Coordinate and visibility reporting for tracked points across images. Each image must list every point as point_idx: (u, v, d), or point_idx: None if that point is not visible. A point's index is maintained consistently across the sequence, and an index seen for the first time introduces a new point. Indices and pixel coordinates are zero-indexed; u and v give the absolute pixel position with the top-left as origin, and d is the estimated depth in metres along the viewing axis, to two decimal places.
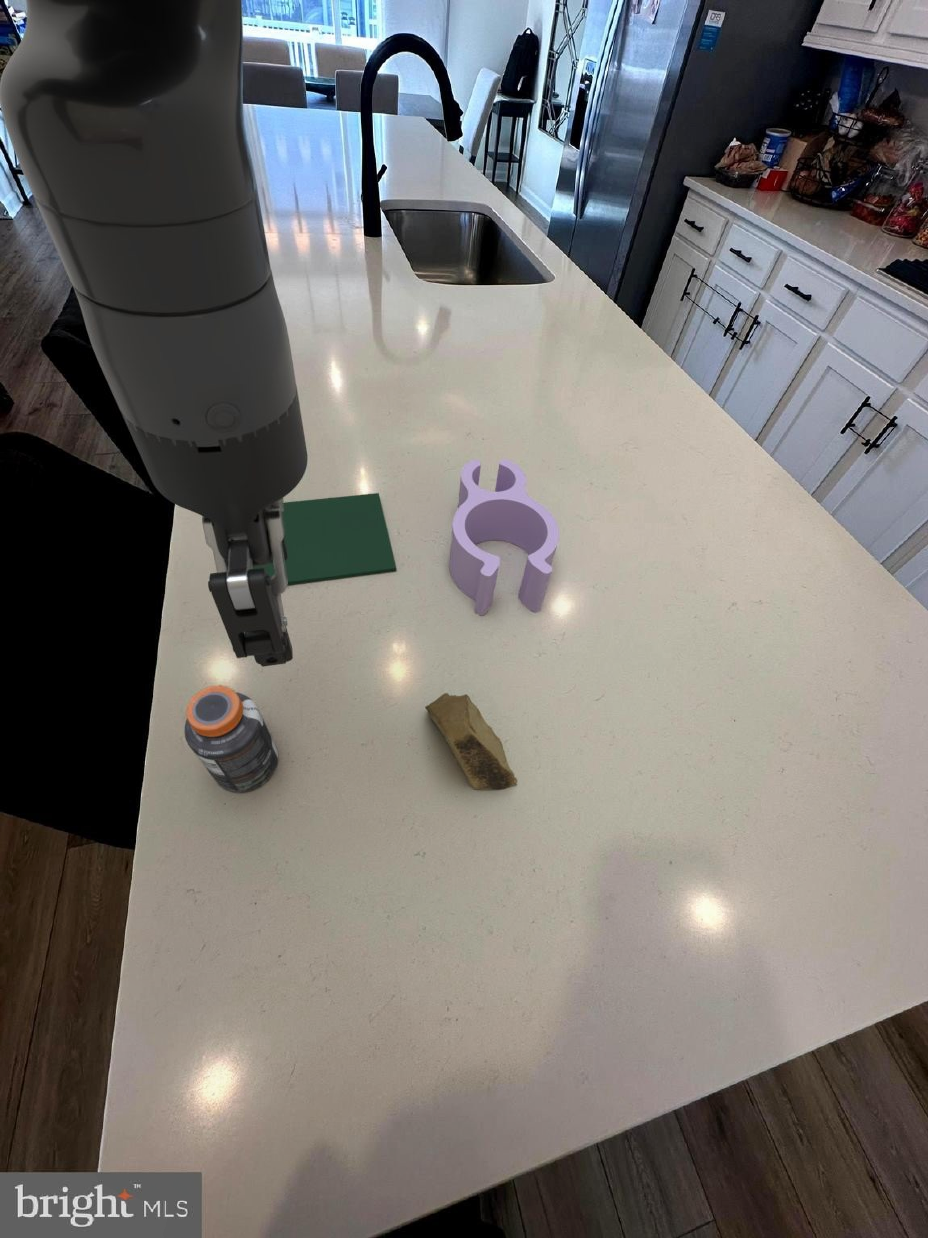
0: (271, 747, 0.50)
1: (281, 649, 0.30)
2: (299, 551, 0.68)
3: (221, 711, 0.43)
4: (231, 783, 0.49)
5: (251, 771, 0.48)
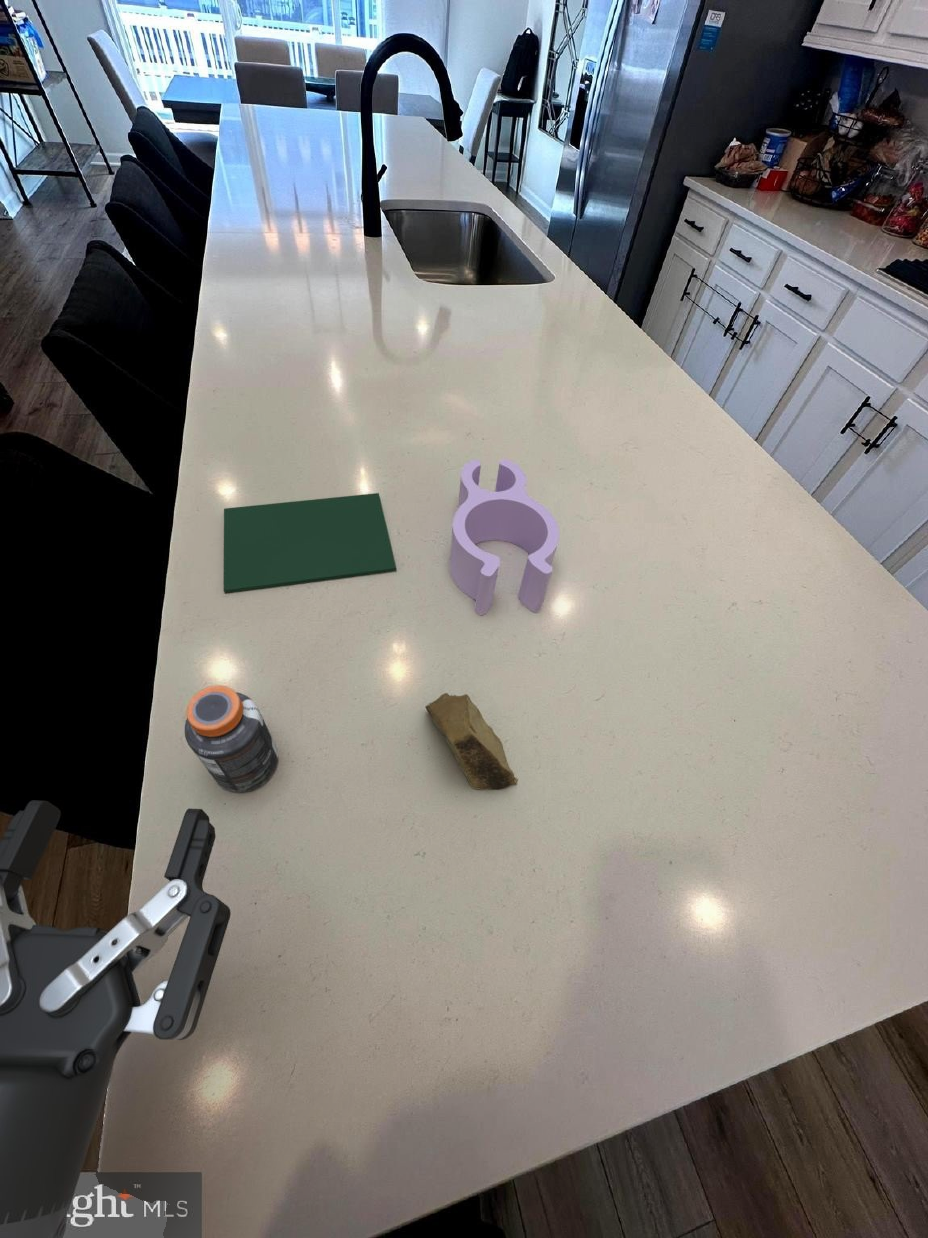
0: (271, 747, 0.50)
1: None
2: (299, 551, 0.68)
3: (221, 711, 0.43)
4: (231, 783, 0.49)
5: (251, 771, 0.48)
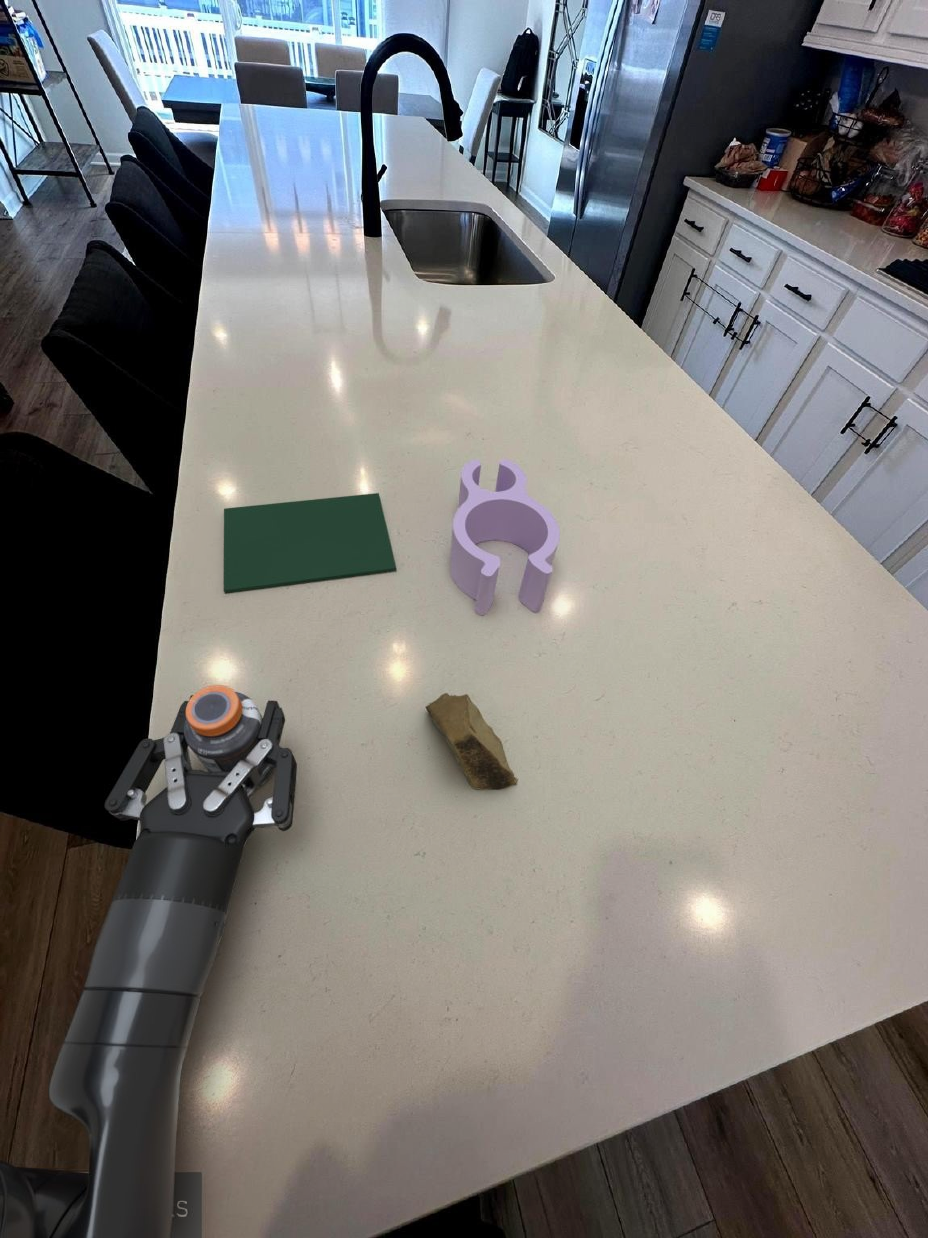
0: None
1: None
2: (299, 551, 0.68)
3: (221, 710, 0.43)
4: None
5: None
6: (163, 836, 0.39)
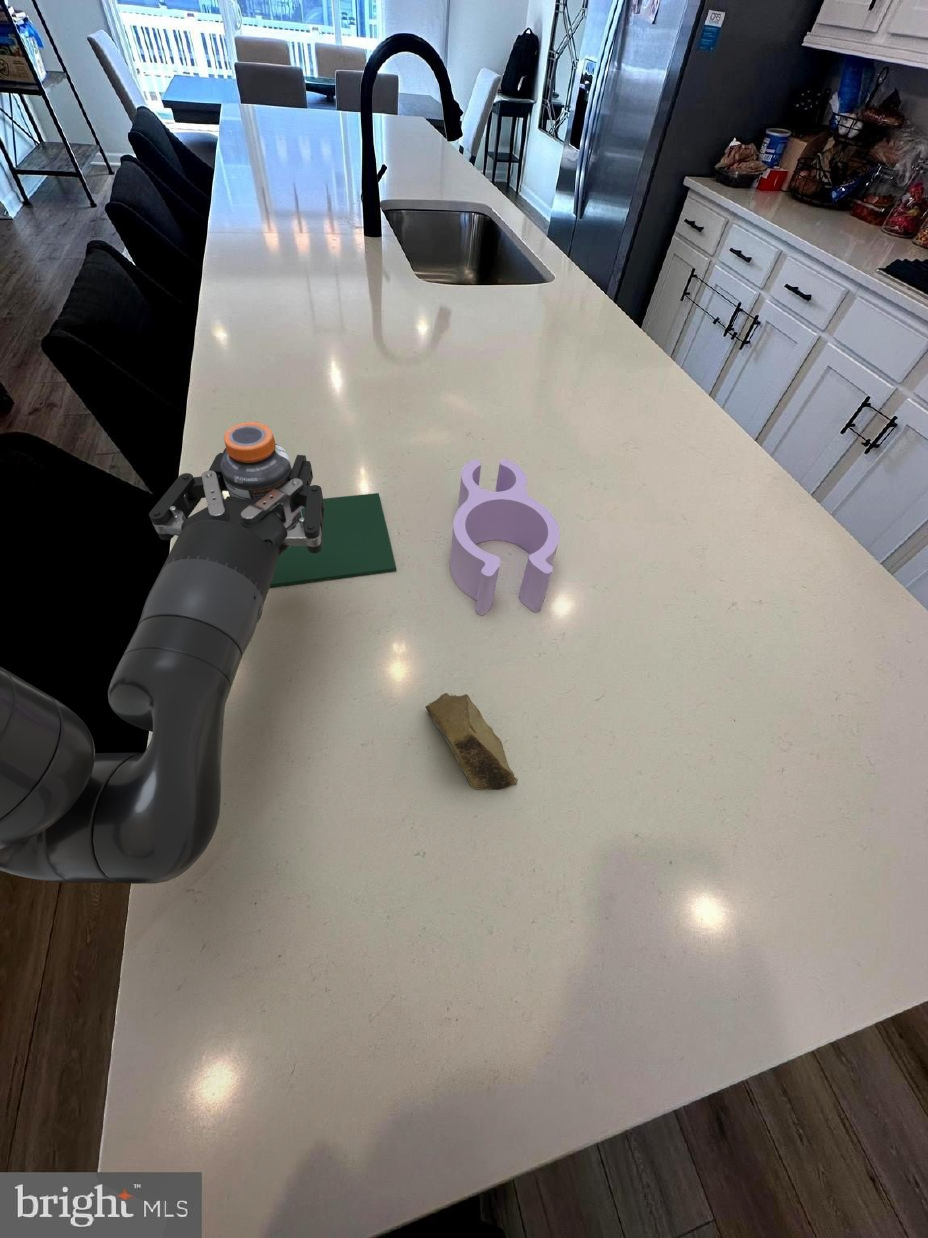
0: None
1: None
2: (299, 551, 0.68)
3: (256, 437, 0.47)
4: None
5: None
6: (206, 520, 0.42)
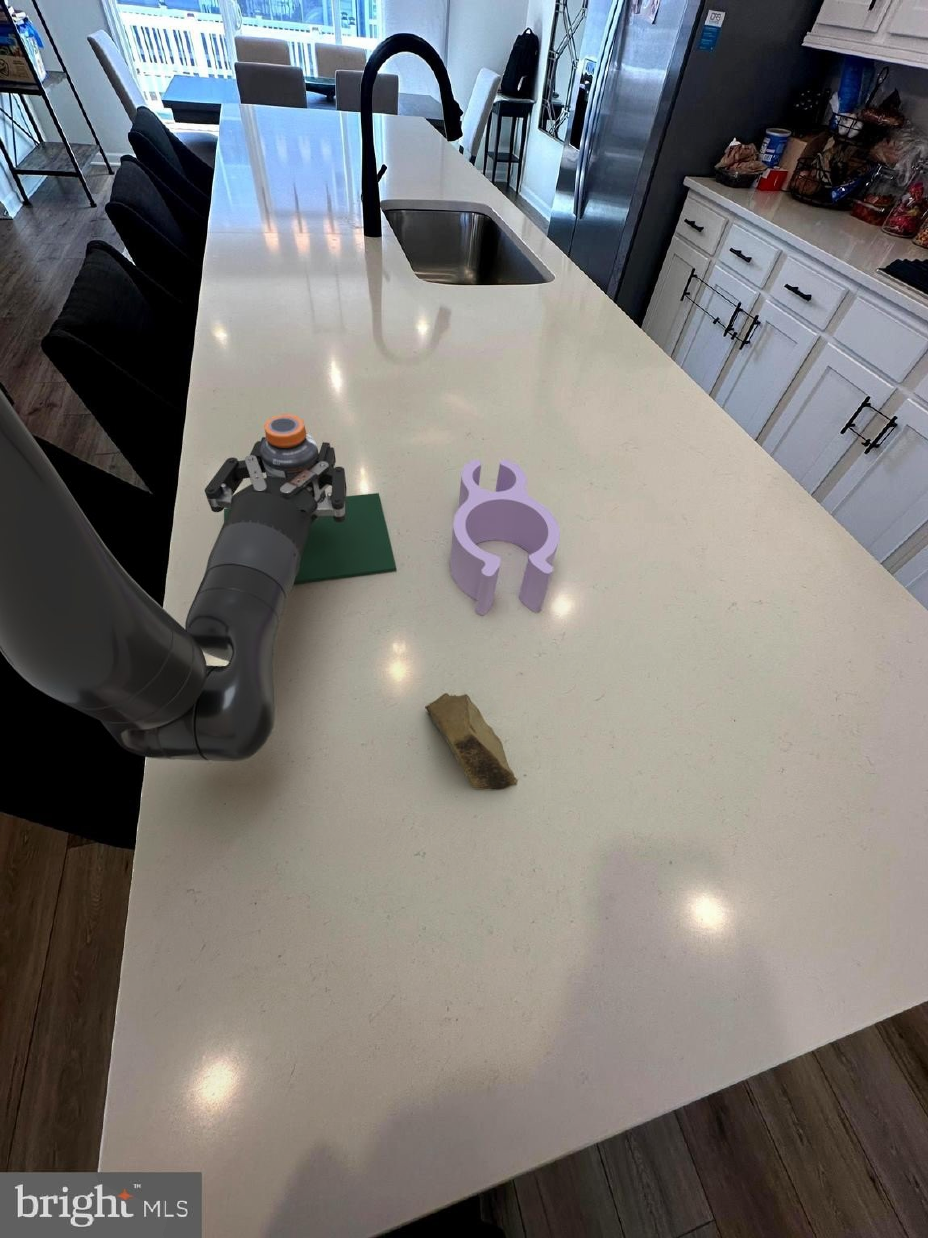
0: None
1: (231, 478, 0.60)
2: None
3: (291, 426, 0.56)
4: None
5: None
6: (254, 493, 0.52)
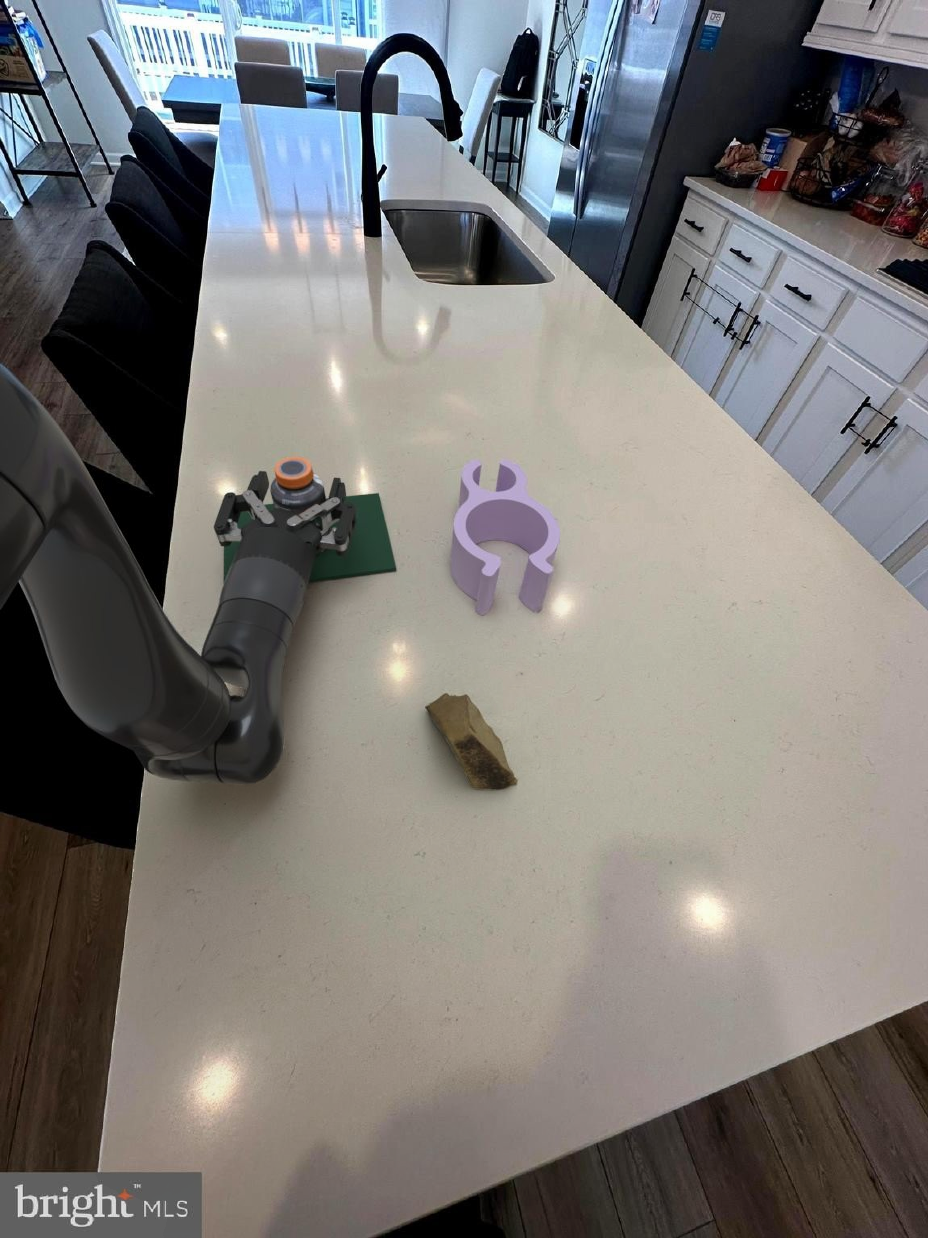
0: None
1: None
2: None
3: (299, 469, 0.60)
4: None
5: None
6: (263, 528, 0.55)
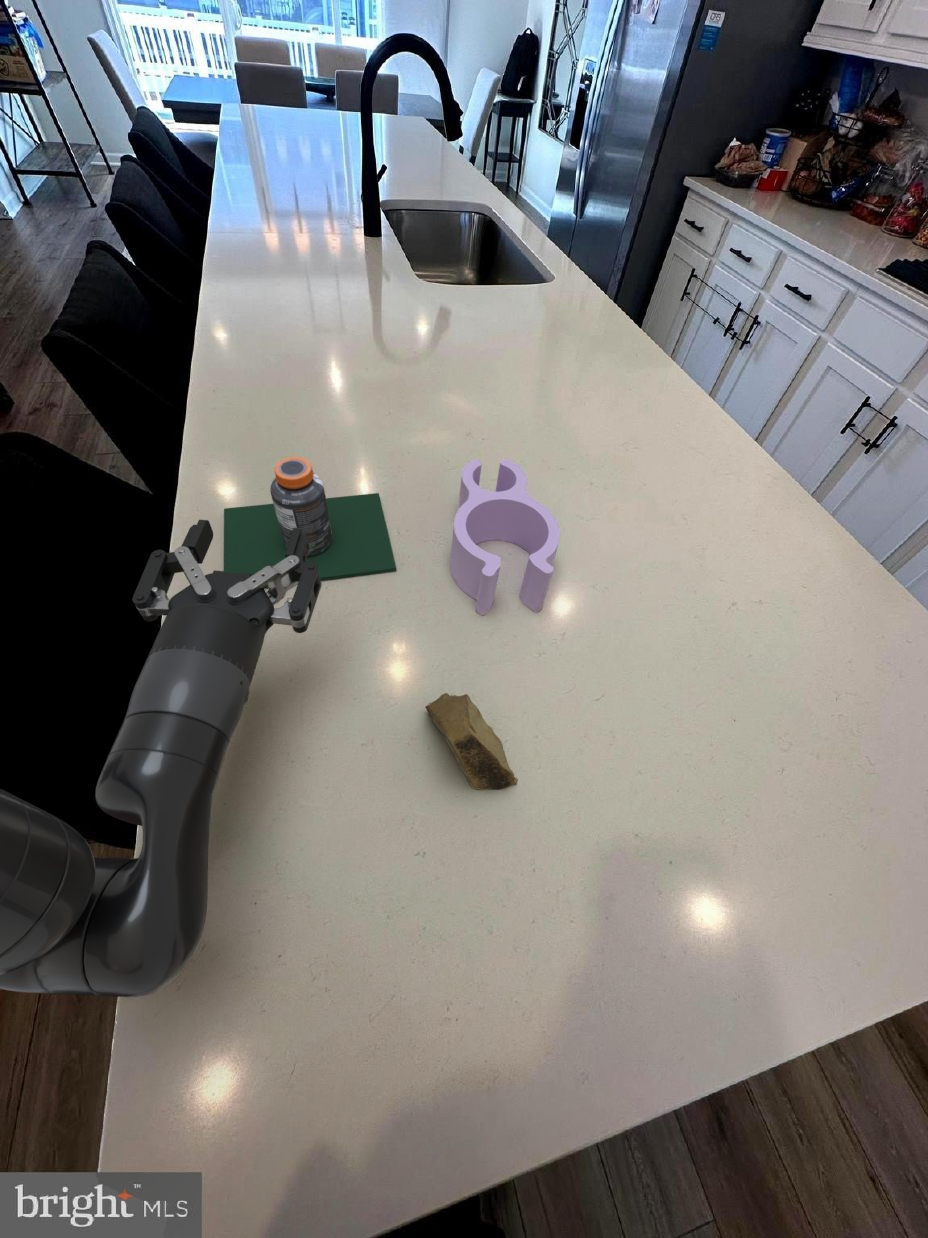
0: (329, 520, 0.67)
1: None
2: None
3: (299, 469, 0.60)
4: None
5: (316, 531, 0.65)
6: (193, 605, 0.42)
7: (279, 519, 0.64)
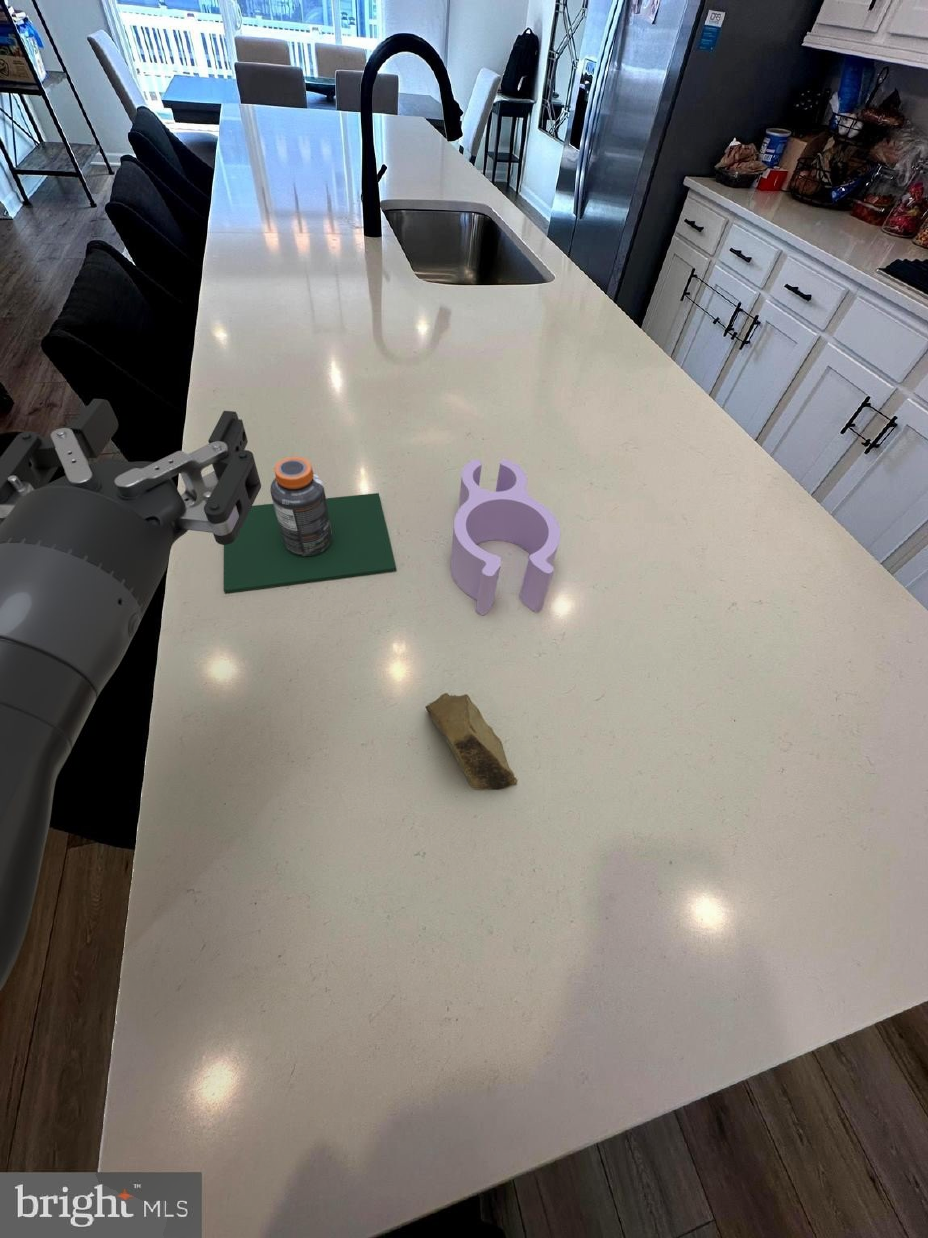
0: (329, 520, 0.67)
1: None
2: None
3: (299, 469, 0.60)
4: (300, 541, 0.66)
5: (316, 531, 0.65)
6: (50, 487, 0.28)
7: (279, 519, 0.64)
